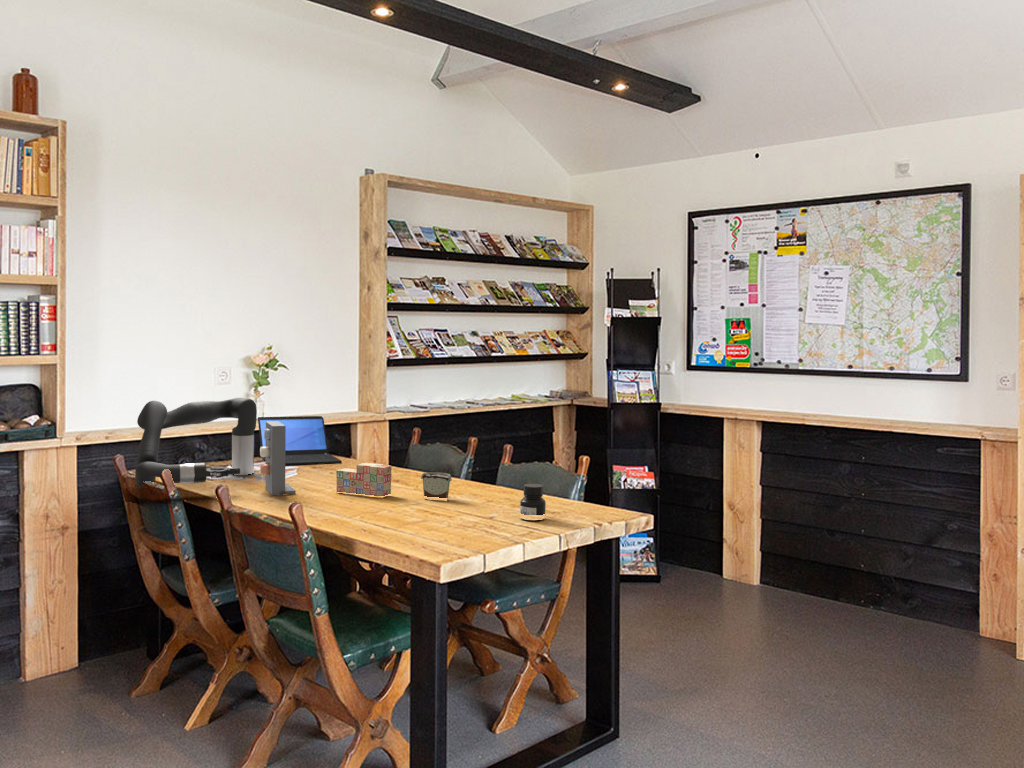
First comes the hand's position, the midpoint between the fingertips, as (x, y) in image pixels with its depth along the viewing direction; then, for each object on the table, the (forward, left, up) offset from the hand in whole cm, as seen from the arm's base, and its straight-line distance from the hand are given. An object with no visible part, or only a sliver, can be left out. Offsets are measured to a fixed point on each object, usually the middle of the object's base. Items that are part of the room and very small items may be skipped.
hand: (239, 470), depth 343 cm
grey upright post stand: (0, +16, -9) cm, 18 cm away
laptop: (-79, +38, -10) cm, 88 cm away
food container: (+33, +70, -9) cm, 78 cm away
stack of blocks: (+15, +45, -9) cm, 49 cm away
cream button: (0, +10, +5) cm, 11 cm away
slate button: (0, +11, +12) cm, 17 cm away
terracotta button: (0, +10, -2) cm, 10 cm away
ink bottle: (+76, +90, -9) cm, 118 cm away
